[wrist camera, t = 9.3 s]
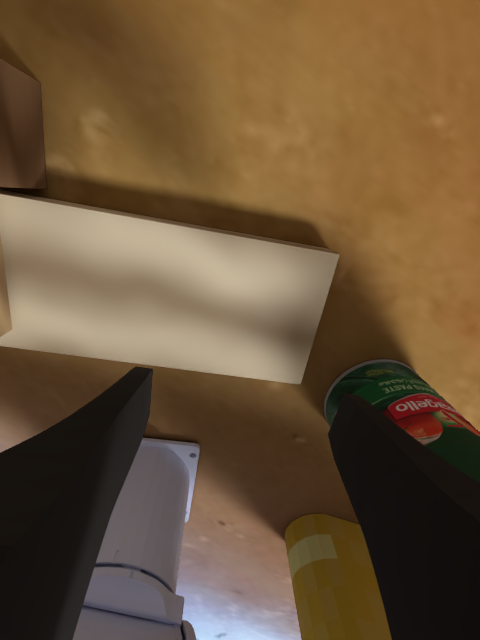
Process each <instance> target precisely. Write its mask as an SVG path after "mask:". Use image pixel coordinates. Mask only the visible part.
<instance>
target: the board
mask: <svg viewBox="0 0 480 640" xmlns="http://www.w3.org/2000/svg"><path fill="white" fill-rule="evenodd" d="M0 235H1V243H2V251H3V259H4V267H5V275H6V283H7V291H8V299H9V307H10V315H11V323H12V330H11V331H9V332H8V333H6V334H4V335H3V336H1V337H0V346H4V347H12V348H20V349H28V350H36V351H43V352H51V353H59V354H67V355H74V356H82V357H90V358H98V359H106V360H113V361H121V362H129V363H137V364H144V365H152V366H160V367H168V368H176V369H183V370H191V371H199V372H207V373H214V374H222V375H230V376H238V377H245V378H253V379H261V380H269V381H277V382H284V383H292V384H301V381H302V378H303V374H304V371H305V368H306V365H307V361H308V358H309V355H310V351H311V348H312V345H313V341H314V338H315V335H316V332H317V328H318V325H319V322H320V318H321V315H322V312H323V308H324V305H325V302H326V299H327V295H328V292H329V289H330V285H331V282H332V279H333V275H334V272H335V269H336V266H337V262H338V259H339V256H340V254H338V253H336V252H334V251H332V250H330V249H328V248H322V247H317V246H311V245H305V244H300V243H294V242H289V241H283V240H278V239H272V238H266V237H261V236H255V235H250V234H244V233H239V232H233V231H227V230H222V229H216V228H211V227H205V226H200V225H194V224H188V223H183V222H177V221H172V220H166V219H161V218H155V217H149V216H144V215H138V214H133V213H127V212H122V211H116V210H110V209H105V208H99V207H94V206H88V205H83V204H77V203H71V202H66V201H60V200H55V199H49V198H44V197H38V196H32V195H27V194H21V193H16V192H10V191H5V190H0Z"/></svg>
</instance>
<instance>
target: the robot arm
mask: <svg viewBox="0 0 480 640" xmlns="http://www.w3.org/2000/svg"><path fill="white" fill-rule="evenodd" d="M152 375H153V369H150V368H142V367H135V368H133V369H132V370H130V371H129V372H128V373H127V374H126V375H124V376H123V377H122V378H121V379H119V380H118V381H117V382H116V383H114V384H113V385H112V386H111V387H109V388H108V389H107V390H105V391H104V392H103V393H102V394H100V395H99V396H98V397H96V398H95V399H94V400H92V401H91V402H89V403H88V404H86V405H85V406H83V407H82V408H80V409H79V410H78V411H76V412H75V413H73V414H72V415H70V416H69V417H67V418H65V419H64V420H62V421H61V422H59V423H57V424H55V425H54V426H52V427H50V428H48V429H47V430H45V431H43V432H41V433H39V434H38V435H36V436H34V437H32V438H30V439H28V440H26V441H24V442H22V443H20V444H18V445H16V446H13V447H11V448H9V449H7V450H5V451H3V452H1V453H0V640H196V636H195V632H194V629H193V627H192V625H191V624H190V623H189V622H188V621H185V620H182V615H183V605H184V597H182V596H178V595H176V594H175V593H176V585H177V578H178V570H179V562H180V555H181V547H182V539H183V532H184V524H185V522H187V521H188V519H189V513H190V507H191V501H192V495H193V489H194V483H195V477H196V471H197V465H198V459H199V453H200V446H199V445H198V444H197V443H189V442H180V441H170V440H161V439H151V438H143V435H144V432H145V428H146V425H147V421H148V418H149V414H150V401H151V388H152ZM328 436H329V440H330V445H331V449H332V453H333V456H334V460H335V463H336V465H337V468H338V471H339V473H340V476H341V478H342V481H343V483H344V486H345V488H346V491H347V493H348V496H349V498H350V501H351V503H352V506H353V508H354V511H355V513H356V516H357V518H358V521H359V524H360V526H361V529H362V532H363V535H364V538H365V541H366V545H367V548H368V551H369V555H370V558H371V561H372V565H373V568H374V572H375V576H376V579H377V583H378V587H379V590H380V594H381V598H382V602H383V605H384V609H385V613H386V618H387V622H388V626H389V630H390V634H391V638H392V640H480V483H479V482H477V481H476V480H474V479H473V478H471V477H470V476H468V475H466V474H465V473H463V472H462V471H460V470H459V469H457V468H456V467H454V466H453V465H451V464H450V463H448V462H447V461H445V460H444V459H442V458H441V457H439V456H438V455H437V454H435V453H434V452H433V451H431V450H430V449H428V448H427V447H426V446H424V445H423V444H422V443H420V442H419V441H418V440H416V439H415V438H414V437H412V436H411V435H410V434H408V433H407V432H406V431H405V430H403V429H402V428H401V427H400V426H398V425H397V424H396V423H394V422H393V421H392V420H391V419H389V418H388V417H387V416H386V415H384V414H383V413H382V412H381V411H379V410H378V409H377V408H376V407H374V406H373V405H372V404H370V403H369V402H368V401H366V400H365V399H364V398H362V397H361V396H359V395H354V394H346V393H343V396H342V398H341V401H340V404H339V407H338V409H337V412H336V415H335V417H334V420H333V423H332V425H331V428H330V431H329V433H328ZM191 453H195V454H191Z"/></svg>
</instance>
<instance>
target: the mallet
mask: <svg viewBox="0 0 480 640" xmlns="http://www.w3.org/2000/svg"><path fill="white" fill-rule="evenodd" d="M0 187H9V188H36V189H47V181H46V166H45V150H44V135H43V119H42V104H41V88H40V82H38V81H36V80H35V79H33V78H31V77H30V76H28V75H27V74H25V73H23V72H22V71H20V70H18V69H17V68H15V67H13V66H12V65H10V64H8V63H7V62H5V61H3V60H2V59H0ZM11 330H12V323H11V315H10V307H9V299H8V291H7V283H6V275H5V267H4V259H3V251H2V243H1V235H0V337H1V336H3V335H4V334H6V333H8V332H9V331H11Z"/></svg>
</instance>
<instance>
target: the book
mask: <svg viewBox="0 0 480 640" xmlns="http://www.w3.org/2000/svg"><path fill="white" fill-rule="evenodd" d="M284 537H285V543H286V549H287V555H288V561H289V567H290V573H291V579H292V585H293V591H294V597H295V603H296V609H297V615H298V621H299V627H300V633H301V639H302V640H392V638H391V634H390V630H389V626H388V622H387V618H386V613H385V609H384V605H383V602H382V598H381V594H380V590H379V587H378V583H377V579H376V576H375V572H374V568H373V565H372V561H371V558H370V555H369V551H368V548H367V545H366V541H365V538H364V535H363V532H362V529H361V526H360V525H359V524H356V523H352V522H349V521H346V520H343V519H340V518H336V517H333V516H330V515H327V514H309V515H305V516H301V517H299V518H298V519H296V520H294V521H293V522H291V523H290V525H289V526H288V527H287V528H286V531H285V536H284Z"/></svg>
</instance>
